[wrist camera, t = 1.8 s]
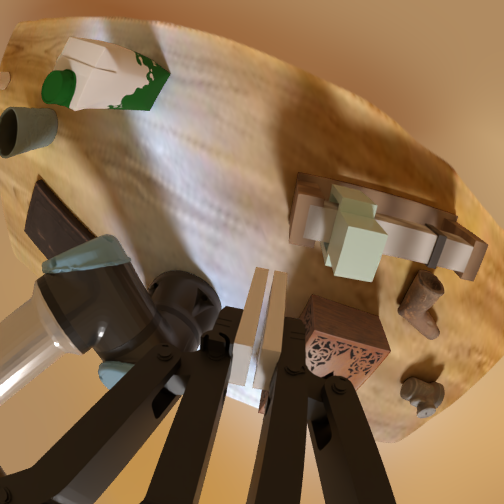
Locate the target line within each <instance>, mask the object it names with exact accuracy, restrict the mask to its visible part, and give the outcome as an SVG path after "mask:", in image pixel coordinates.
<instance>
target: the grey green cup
mask: <svg viewBox="0 0 504 504" xmlns="http://www.w3.org/2000/svg"><path fill="white" fill-rule="evenodd" d="M57 128H58V119H57V115H56V113H55V111H54V110H52V109H49V108H40V109H38V108H25V107H9V108H7V109H6V110H5V111H4V112H3V113H2V115H1V116H0V156H1V157H2V158H9V157H12V156H15V155H17V154H21V153H24V152H27V151H30V150H34V149H38V148H41V147H45V146H48V145H49V144H51V143H52V141H53V140H54V138H55V136H56V133H57Z"/></svg>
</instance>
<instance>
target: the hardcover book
mask: <svg viewBox="0 0 504 504" xmlns="http://www.w3.org/2000/svg"><path fill="white" fill-rule="evenodd" d="M24 231H25V232H26V234H27V235H28V236H29V237H30V239H31V240H32V241H33V242H34V244H35V245H36V246H37V247H38V248H39V250H40V251H41V252H42V253H43V254H44V255H45V257H46V258H47V259H48V260H49V259H51V258H53V257H55V256H57V255H59V254H61V253H63V252H65V251H67V250H70V249H72V248H74V247H76V246H78V245H81V244H83V243H85V242H87V241H90V240H92V239H95V237H94V236H93V235H92V234H91V233H90V232H89V231H88V230H87V229H86V228H85V227H84V226H83V225H82V224H81V223H80V222H79V220H78V219H77V218H76V217H75V216H74V215H73V214H72V213H71V212H70V211H69V210H68V209H67V208H66V207H65V206H64V205H63V203H62V202H61V201H60V200H59V199H58V198H57V197H56V196H55V195H54V193H53V192H52V191H51V190H50V189H49V188H48V187H47V185H46V184H45V183H44V182H43V181H42V180H38V181H37V182H36V184H35V187H34V191H33V194H32V198H31V202H30V206H29V210H28V215H27V220H26V224H25V229H24Z"/></svg>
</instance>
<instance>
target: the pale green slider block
mask: <svg viewBox="0 0 504 504" xmlns="http://www.w3.org/2000/svg"><path fill="white" fill-rule="evenodd" d="M329 201H330V202H334V203H339V207H338V211H337V215H336V219H335V223H334V227H333V231H332V235H331V239H330V243H327V242H322V241H320V244H321V248H322V253H323V258H324V262H325V266H330V267H332V269H333V273H334V276H339V277H345V278H350V279H356V280H361V281H367V282H372V281H373V278H374V276H375V273H376V270H377V267H378V265H379V262H380V259H381V256H382V253H383V250H384V247H385V244H386V241H387V238H388V234H387V233H386V232H385V231H384V229H383V228H382V227H381V226H380V225H379V224H378V223H377V221H376V220H375V219H374V217H375V213H376V210H377V206H378V205H376V204H375V203H374V202H373V201H372V200H371V199H370V198H369V197H367V196H366V195H365V194H364V193H363V192H362V191H360V190H356V189H352V188H348V187H344V186H339V185H335V184H332V187H331V192H330V197H329Z"/></svg>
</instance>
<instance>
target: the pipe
mask: <svg viewBox="0 0 504 504" xmlns="http://www.w3.org/2000/svg"><path fill="white" fill-rule="evenodd" d="M443 294H444V287H443V285H442V283H441V282H440V281H439V280H438V278H437V277H436V276H435V275H433V274H432V273H431V272H429V271H426V270H419V271H418V274H417V275H416V277H415V279H414V281H413V283H412V284H411V286H410V288H409V290H408V292H407V293H406V295H405V298H404V300H403V302H402V304H401V305H400V306H399V308H398V313H399V315H401V316H402V317H404V318H405V319H407V320H408V322H409V323H410V324H411V325H412V326H413V327H414V328H416V329H417V330H418V331H419V332H420V333H422V334H423V335H424V336H425V337H427V338H428V339H430V340H433V339H435V338H437V337H438V336H439V334H440V331H439V329H438V327H437V325H436V323H435V321H434V320H433V318H432V316H431V315H430V313H429V312H428V309H429V308H430V307H431V306H433V305H434V304H435V303H436V301H437V300H438V298H439V297H440V296H442V295H443Z"/></svg>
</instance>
